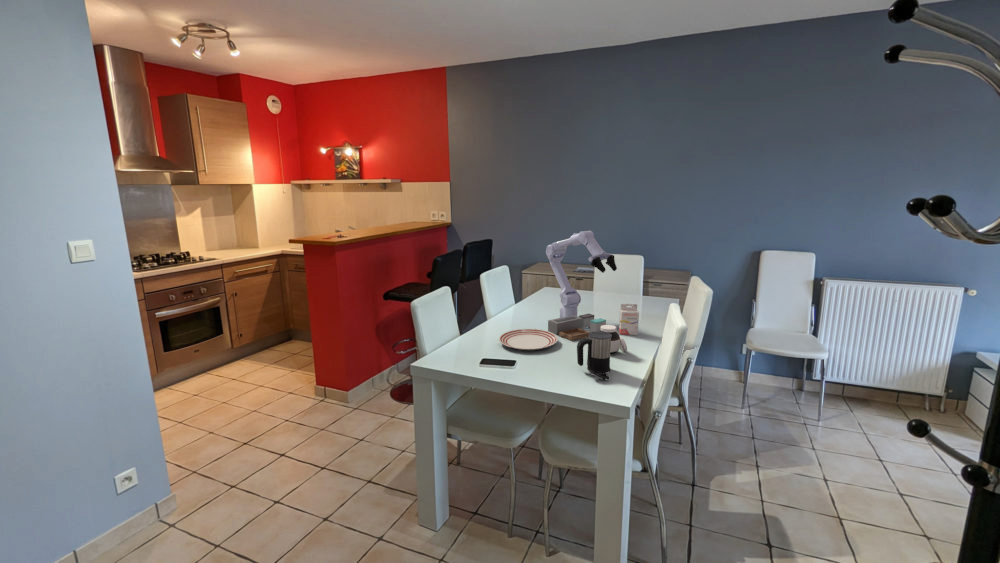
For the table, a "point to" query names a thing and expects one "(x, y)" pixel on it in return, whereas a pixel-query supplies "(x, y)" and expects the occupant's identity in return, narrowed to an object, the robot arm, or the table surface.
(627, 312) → the ink cartridge box
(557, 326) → the grey long block
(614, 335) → the spread jar
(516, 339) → the dinner plate
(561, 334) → the walnut tray
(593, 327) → the teal cartridge
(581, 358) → the milk frother
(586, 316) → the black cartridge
